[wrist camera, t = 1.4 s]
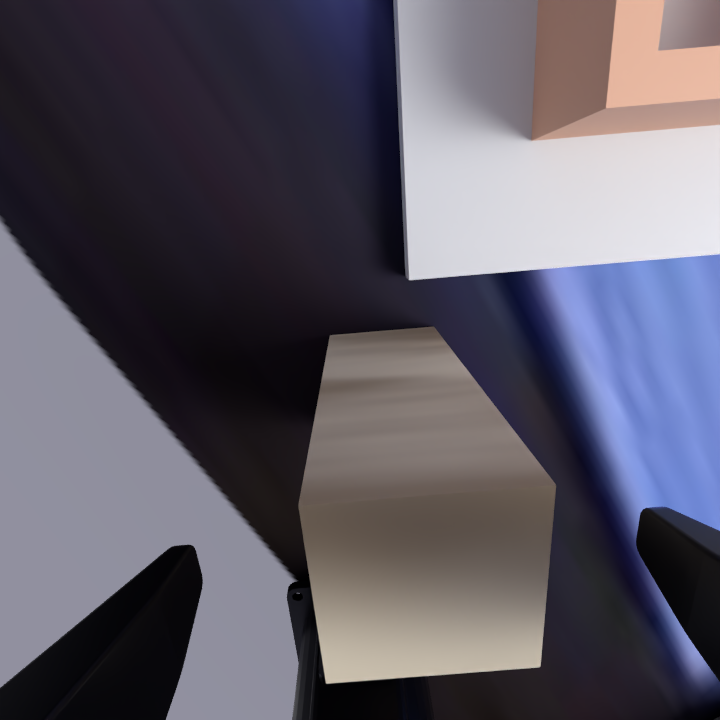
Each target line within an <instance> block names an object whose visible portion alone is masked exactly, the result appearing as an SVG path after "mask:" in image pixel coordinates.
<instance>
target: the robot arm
mask: <svg viewBox="0 0 720 720" xmlns="http://www.w3.org/2000/svg"><path fill="white" fill-rule="evenodd" d="M636 545H637V549H638V552H639V554H640V556H641V558H642V560H643V561H644V563H645V565H646V566H647V568H648V570H649V572H650V573H651V575H652V577H653V578H654V580H655V582H656V584H657V585H658V587H659V589H660V590H661V592H662V594H663V596H664V597H665V599H666V601H667V602H668V604H669V606H670V608H671V609H672V611H673V613H674V614H675V616H676V618H677V619H678V621H679V623H680V624H681V626H682V628H683V629H684V631H685V632H686V634H687V635H688V637H689V638H690V640H691V641H692V643H693V644H694V646H695V647H696V649H697V650H698V651H699V653H700V654H701V656H702V657H703V659H704V660H705V661H706V663H707V664H708V666H709V667H710V669H711V670H712V671H713V673H714V674H715V676H716V677H717V678H718V680H719V681H720V531H718V530H716V529H714V528H712V527H710V526H707V525H705V524H703V523H701V522H698V521H696V520H694V519H692V518H690V517H687V516H685V515H683V514H681V513H679V512H676V511H674V510H672V509H670V508H667V507H652V508H645V509H643V510H642V512H641V514H640V520H639V526H638V532H637V538H636ZM202 581H203V580H202V573H201V569H200V565H199V561H198V558H197V554H196V550H195V548H194V547H193V546H192V545H179V546H173V547H171V548H169V549H168V550H167V551H165V552H164V553H163V554H162V555H160V556H159V557H158V558H157V559H156V560H154V561H153V562H152V563H151V564H150V565H148V566H147V567H146V568H145V569H144V570H142V571H141V572H140V573H139V574H138V575H136V576H135V577H134V578H133V579H131V580H130V581H129V582H128V583H127V584H125V585H124V586H123V587H122V588H121V589H119V590H118V591H117V592H116V593H115V594H113V595H112V596H111V597H110V598H108V599H107V600H106V601H105V602H104V603H102V604H101V605H100V606H99V607H98V608H96V609H95V610H94V611H93V612H91V613H90V614H89V615H88V616H87V617H86V618H84V619H83V620H82V621H81V622H79V623H78V624H77V625H76V626H75V627H73V628H72V629H71V630H70V631H68V632H67V633H66V634H65V635H64V636H62V637H61V638H60V639H59V640H58V641H56V642H55V643H54V644H53V645H52V646H50V647H49V648H48V649H47V650H46V651H44V652H43V653H42V654H41V655H39V656H38V657H37V658H36V659H35V660H33V661H32V662H31V663H30V664H29V665H27V666H26V667H25V668H24V669H22V670H21V671H20V672H19V673H18V674H16V675H15V676H14V677H13V678H12V679H10V680H9V681H8V682H7V683H6V684H4V685H3V686H2V687H1V688H0V720H166V717H167V714H168V711H169V708H170V705H171V702H172V699H173V696H174V693H175V690H176V688H177V685H178V681H179V678H180V675H181V672H182V668H183V664H184V661H185V657H186V653H187V648H188V644H189V640H190V636H191V632H192V628H193V624H194V619H195V615H196V611H197V607H198V603H199V598H200V595H201V590H202V583H203V582H202ZM297 593H300V594H297ZM287 601H288V606H289V612H290V617H291V622H292V628H293V633H294V639H295V645H296V650H297V655H298V661H299V667H298V675H297V683H296V692H295V701H294V710H293V717H292V720H434V714H433V708H432V702H431V696H430V690H429V684H428V678H427V676H419V677H406V678H394V679H381V680H368V681H355V682H342V683H329V684H326V681H325V674H324V668H323V661H322V655H321V649H320V642H319V636H318V629H317V623H316V616H315V610H314V603H313V597H312V590H311V584H310V581H297V582H293V583H292V584H290V586H289V587H288V594H287Z"/></svg>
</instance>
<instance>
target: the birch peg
mask: <svg viewBox="0 0 720 720" xmlns="http://www.w3.org/2000/svg"><path fill="white" fill-rule="evenodd" d="M555 491H556V484H555V483H554V482H553V481H552V479H551V478H550V477H549V475H548V474H547V473H546V471H545V470H544V469H543V468H542V466H541V465H540V464H539V462H538V461H537V460H536V458H535V457H534V456H533V455H532V453H531V452H530V451H529V449H528V448H527V447H526V446H525V444H524V443H523V442H522V440H521V439H520V438H519V436H518V435H517V434H516V433H515V431H514V430H513V429H512V427H511V426H510V425H509V424H508V422H507V421H506V420H505V418H504V417H503V416H502V414H501V413H500V412H499V411H498V409H497V408H496V407H495V405H494V404H493V403H492V402H491V400H490V399H489V398H488V396H487V395H486V394H485V392H484V391H483V390H482V389H481V387H480V386H479V385H478V383H477V382H476V381H475V379H474V378H473V377H472V376H471V374H470V373H469V372H468V370H467V369H466V368H465V367H464V365H463V364H462V363H461V361H460V360H459V359H458V357H457V356H456V355H455V354H454V352H453V351H452V350H451V348H450V347H449V346H448V345H447V343H446V342H445V341H444V339H443V338H442V337H441V335H440V334H439V333H438V332H437V330H436V329H435V328H434V327H424V328H411V329H399V330H387V331H375V332H363V333H351V334H339V335H330V337H329V343H328V348H327V354H326V359H325V365H324V370H323V375H322V381H321V386H320V392H319V397H318V402H317V408H316V413H315V419H314V424H313V430H312V435H311V440H310V446H309V451H308V457H307V462H306V468H305V473H304V478H303V484H302V489H301V495H300V500H299V512H300V519H301V525H302V532H303V538H304V545H305V551H306V558H307V564H308V571H309V577H310V584H311V590H312V597H313V603H314V610H315V616H316V623H317V629H318V636H319V642H320V649H321V655H322V661H323V668H324V674H325V681H326V684H329V683H342V682H355V681H368V680H381V679H394V678H406V677H419V676H432V675H445V674H458V673H471V672H484V671H497V670H510V669H523V668H536V667H540V665H541V654H542V642H543V630H544V619H545V607H546V595H547V584H548V572H549V561H550V549H551V537H552V526H553V514H554V502H555Z"/></svg>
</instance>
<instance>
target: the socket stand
mask: <svg viewBox="0 0 720 720" xmlns="http://www.w3.org/2000/svg"><path fill="white" fill-rule="evenodd" d="M393 5H394V28H395V50H396V73H397V96H398V118H399V141H400V163H401V186H402V209H403V231H404V254H405V276H406V277H407V278H408V280H417V279H429V278H441V277H453V276H465V275H477V274H489V273H500V272H512V271H524V270H536V269H548V268H560V267H572V266H584V265H596V264H608V263H620V262H632V261H644V260H655V259H667V258H679V257H691V256H703V255H715V254H720V0H393Z"/></svg>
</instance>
